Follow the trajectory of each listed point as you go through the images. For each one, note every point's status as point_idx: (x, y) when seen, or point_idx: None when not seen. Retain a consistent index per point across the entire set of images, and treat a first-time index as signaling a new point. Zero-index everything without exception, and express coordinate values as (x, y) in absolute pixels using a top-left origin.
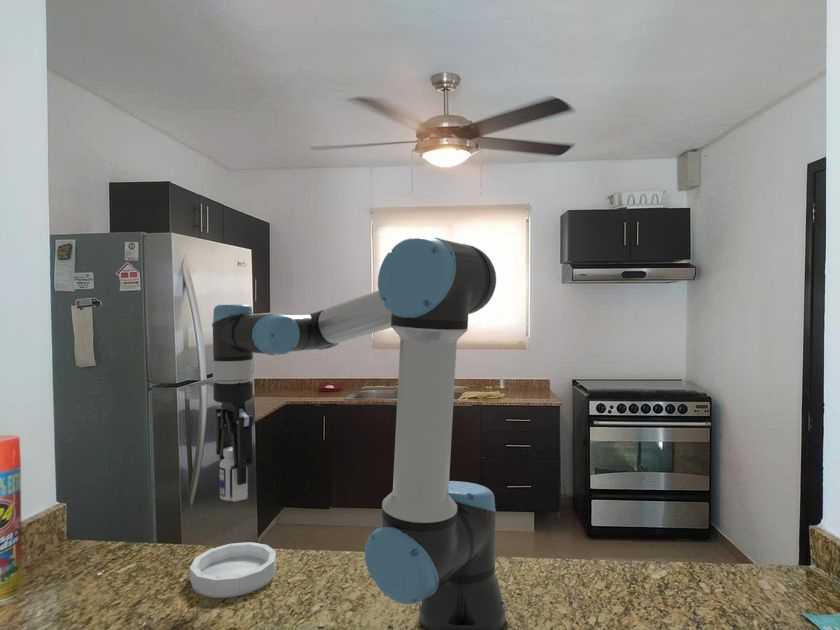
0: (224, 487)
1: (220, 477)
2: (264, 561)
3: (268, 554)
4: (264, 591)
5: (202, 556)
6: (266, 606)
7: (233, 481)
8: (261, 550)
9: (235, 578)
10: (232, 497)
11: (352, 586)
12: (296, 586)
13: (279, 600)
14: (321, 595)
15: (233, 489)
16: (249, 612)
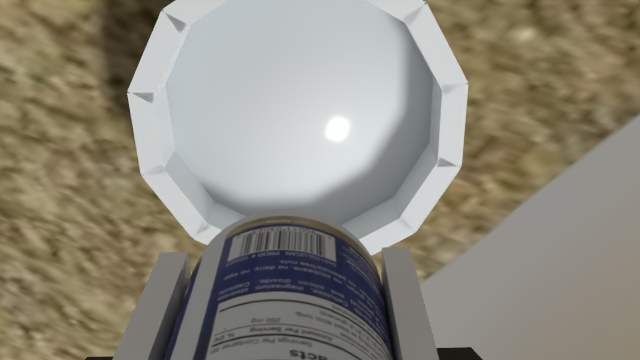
0: (225, 269)
1: (272, 303)
2: None
3: None
4: (135, 150)
5: (419, 35)
6: (33, 119)
7: (121, 349)
8: None
9: (133, 79)
10: (180, 264)
11: (24, 350)
12: (111, 238)
13: (50, 165)
14: (16, 269)
15: (145, 304)
16: (22, 61)
